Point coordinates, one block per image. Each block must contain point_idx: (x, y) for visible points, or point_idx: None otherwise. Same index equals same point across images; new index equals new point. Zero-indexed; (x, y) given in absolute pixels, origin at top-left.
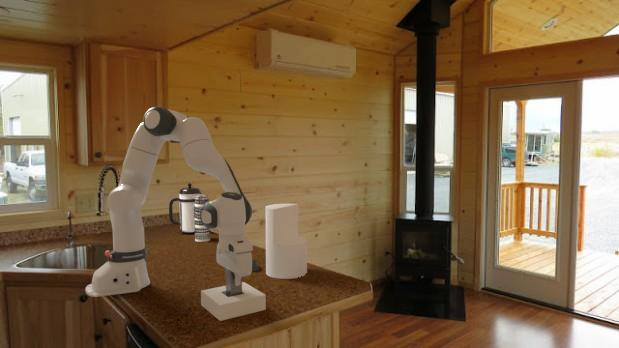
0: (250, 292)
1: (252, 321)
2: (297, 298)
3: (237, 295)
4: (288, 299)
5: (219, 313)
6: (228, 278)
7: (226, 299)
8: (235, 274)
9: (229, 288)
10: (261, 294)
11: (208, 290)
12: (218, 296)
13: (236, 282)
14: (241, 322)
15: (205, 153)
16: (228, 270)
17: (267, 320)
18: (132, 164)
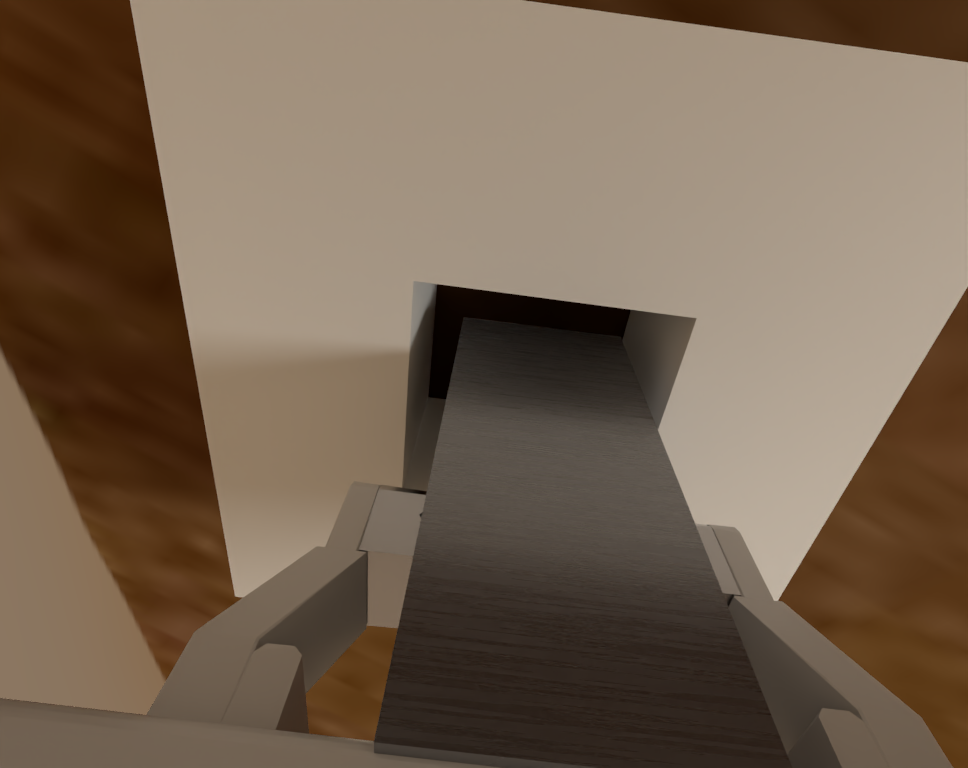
0: None
1: (92, 275)
2: (362, 699)
3: (393, 404)
4: (382, 666)
5: None
6: (538, 528)
7: (333, 206)
8: (220, 681)
9: (502, 402)
10: (266, 580)
11: (940, 202)
12: (544, 178)
13: (335, 532)
14: (108, 177)
15: None
16: (537, 734)
17: (66, 380)
18: None
